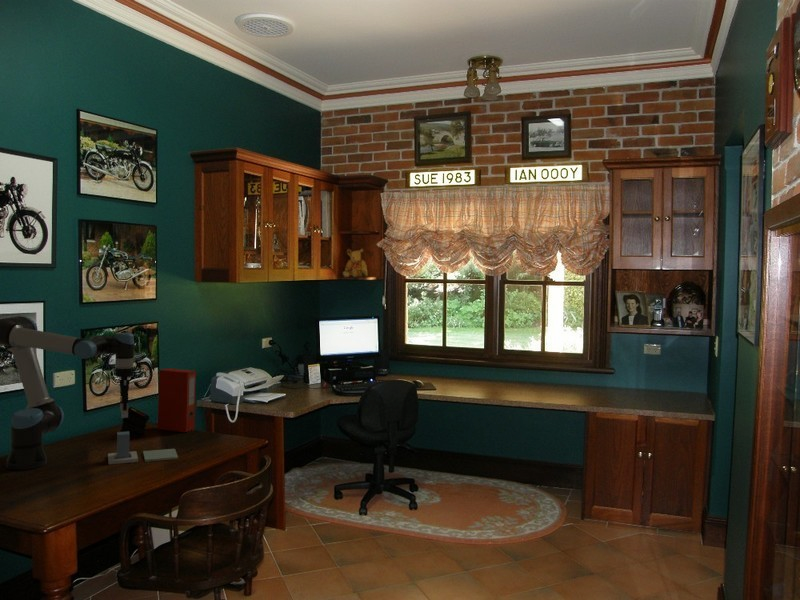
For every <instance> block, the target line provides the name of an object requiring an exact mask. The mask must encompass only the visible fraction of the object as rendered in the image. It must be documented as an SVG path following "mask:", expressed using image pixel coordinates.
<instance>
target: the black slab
mask: <svg viewBox="0 0 800 600" xmlns="http://www.w3.org/2000/svg"><path fill="white" fill-rule="evenodd" d="M121 420H122V425H121V429H120V431H119V432H128V431H129V434H130V438H144V437H145V434H146V431H145V428H146V427H147V422H148V421H149V420H150V416H149V415H148V414H146V413H144V412H142V411H140V410H138V409H136V408H135V407H133V406H130V407H129V406H128V418H122V419H121Z"/></svg>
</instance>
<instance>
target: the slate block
mask: <svg viewBox="0 0 800 600" xmlns="http://www.w3.org/2000/svg"><path fill="white" fill-rule="evenodd" d="M130 438H131V437H130V434H129V431H128V432H120V431H117V433H116V453H117V458H116V459H120V458H130V457H129V452H130Z"/></svg>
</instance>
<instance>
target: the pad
mask: <svg viewBox="0 0 800 600" xmlns="http://www.w3.org/2000/svg"><path fill="white" fill-rule="evenodd" d="M142 455H143V458H144V462H145V463H149V462H159V461H160V462H161V461H170V460H179V456H178V453H177V451H176V449H175V448H165V449H155V450H154V449H152V450H143V451H142Z"/></svg>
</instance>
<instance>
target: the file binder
mask: <svg viewBox="0 0 800 600" xmlns="http://www.w3.org/2000/svg"><path fill="white" fill-rule="evenodd" d="M196 382H197V371H196V370H189V369H178V368H168V367H167V368H163V369H159V370H158V403H157V404H158V405H157V429H158V430H162V431H169V430H170V431H169V432H177V431H178V433H185V432H187V433H189V432H191V431H190V430H192V431H194V430H195V423H196V421H195V420H196V419H195V418H196V415H195V414H196V385H197V383H196ZM188 431H189V432H188Z"/></svg>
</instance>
